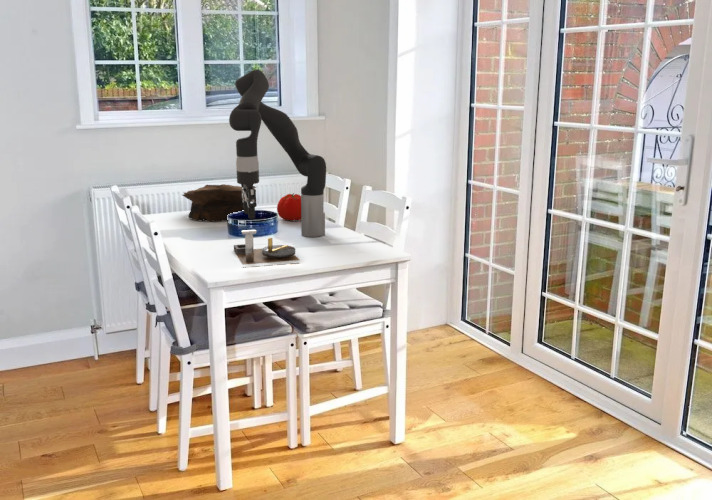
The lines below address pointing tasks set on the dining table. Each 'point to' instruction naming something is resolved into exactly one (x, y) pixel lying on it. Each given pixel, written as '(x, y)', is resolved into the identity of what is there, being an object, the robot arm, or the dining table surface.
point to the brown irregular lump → (215, 202)
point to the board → (259, 256)
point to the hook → (249, 244)
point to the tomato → (290, 207)
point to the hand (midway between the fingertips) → (249, 215)
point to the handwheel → (277, 250)
